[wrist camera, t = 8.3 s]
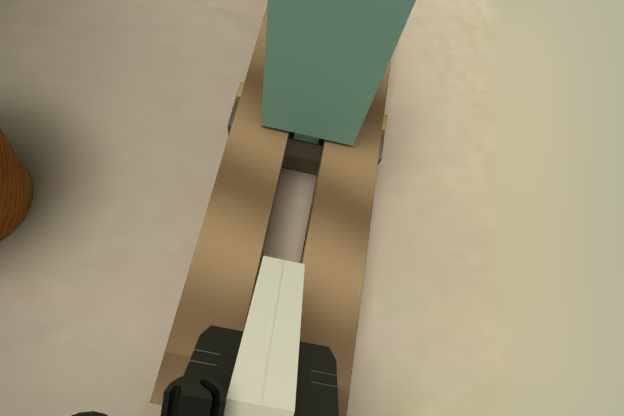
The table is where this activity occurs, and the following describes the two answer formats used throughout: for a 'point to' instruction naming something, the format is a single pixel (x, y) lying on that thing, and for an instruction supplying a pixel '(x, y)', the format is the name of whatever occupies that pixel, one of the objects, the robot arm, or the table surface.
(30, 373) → the table surface
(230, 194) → the brown flat slatted piece
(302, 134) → the block
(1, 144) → the disposable coffee cup
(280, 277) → the robot arm
